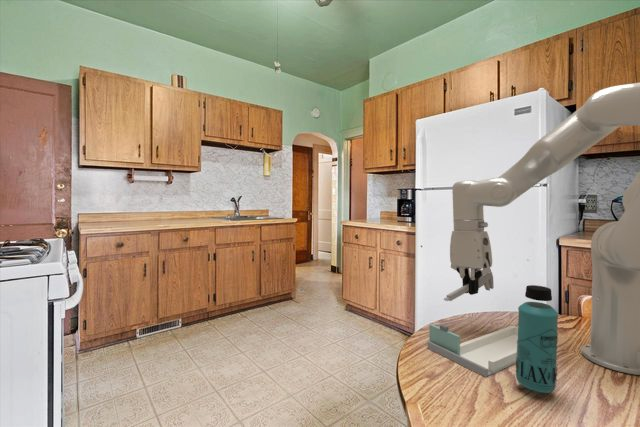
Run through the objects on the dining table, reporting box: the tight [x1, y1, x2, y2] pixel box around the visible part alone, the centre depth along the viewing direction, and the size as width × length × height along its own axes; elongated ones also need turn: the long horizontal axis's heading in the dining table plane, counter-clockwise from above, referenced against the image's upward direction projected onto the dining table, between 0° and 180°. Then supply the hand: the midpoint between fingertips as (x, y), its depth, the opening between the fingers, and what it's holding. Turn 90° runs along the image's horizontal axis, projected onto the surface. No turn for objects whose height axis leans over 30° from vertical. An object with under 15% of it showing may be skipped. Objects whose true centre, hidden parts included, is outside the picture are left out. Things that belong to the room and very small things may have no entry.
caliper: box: [443, 271, 494, 302], centre depth 86 cm, size 20×1×6 cm, turn 120°
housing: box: [426, 325, 518, 378], centre depth 78 cm, size 15×26×2 cm, turn 120°
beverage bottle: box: [515, 284, 559, 394], centre depth 59 cm, size 6×7×20 cm
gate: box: [428, 323, 461, 356], centre depth 75 cm, size 8×1×6 cm, turn 30°
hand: (470, 292), depth 86 cm, fingers closed on caliper, 1 cm apart
